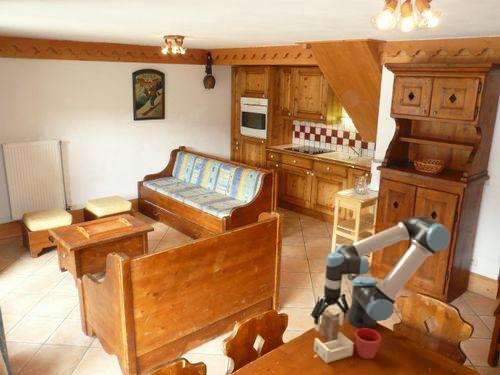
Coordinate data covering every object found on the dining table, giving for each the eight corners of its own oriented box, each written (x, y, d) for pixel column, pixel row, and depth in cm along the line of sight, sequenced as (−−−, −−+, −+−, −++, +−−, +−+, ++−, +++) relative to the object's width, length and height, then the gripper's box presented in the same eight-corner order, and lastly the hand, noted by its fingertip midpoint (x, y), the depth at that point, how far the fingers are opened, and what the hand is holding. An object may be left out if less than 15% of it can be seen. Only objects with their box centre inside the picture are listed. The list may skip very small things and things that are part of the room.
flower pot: (379, 362, 190) (382, 343, 188) (354, 359, 192) (356, 339, 190) (377, 348, 200) (379, 329, 198) (353, 345, 202) (355, 326, 200)
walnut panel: (320, 333, 211) (321, 311, 208) (326, 332, 212) (328, 310, 209) (331, 343, 203) (333, 320, 200) (337, 342, 204) (339, 319, 201)
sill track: (339, 343, 203) (340, 331, 202) (352, 355, 195) (353, 343, 193) (313, 350, 198) (314, 338, 196) (326, 363, 189) (327, 350, 187)
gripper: (349, 278, 209) (345, 317, 214) (305, 286, 199) (302, 328, 204) (359, 285, 203) (355, 325, 208) (314, 294, 192) (311, 336, 197)
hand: (329, 327), depth 206 cm, fingers open, 13 cm apart
